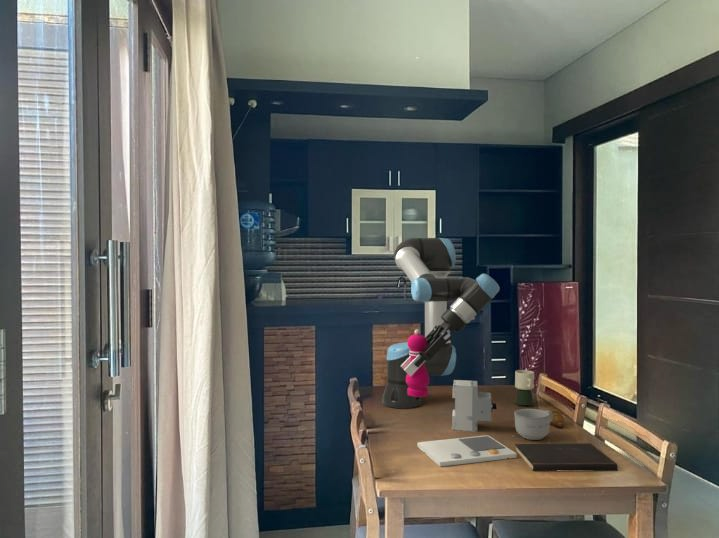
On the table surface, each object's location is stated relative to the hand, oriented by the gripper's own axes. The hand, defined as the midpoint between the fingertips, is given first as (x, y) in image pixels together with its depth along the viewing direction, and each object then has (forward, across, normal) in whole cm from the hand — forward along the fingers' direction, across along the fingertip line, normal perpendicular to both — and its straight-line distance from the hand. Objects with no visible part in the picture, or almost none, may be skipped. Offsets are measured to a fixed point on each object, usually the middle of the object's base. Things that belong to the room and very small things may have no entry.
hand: (405, 371), depth 162 cm
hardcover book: (-13, -15, -47) cm, 51 cm away
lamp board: (+5, -7, -28) cm, 29 cm away
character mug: (-21, +38, -54) cm, 70 cm away
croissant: (-22, +17, -56) cm, 62 cm away
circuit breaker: (-2, +14, -34) cm, 37 cm away
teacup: (-14, +4, -47) cm, 49 cm away
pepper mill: (+3, 0, -8) cm, 8 cm away
